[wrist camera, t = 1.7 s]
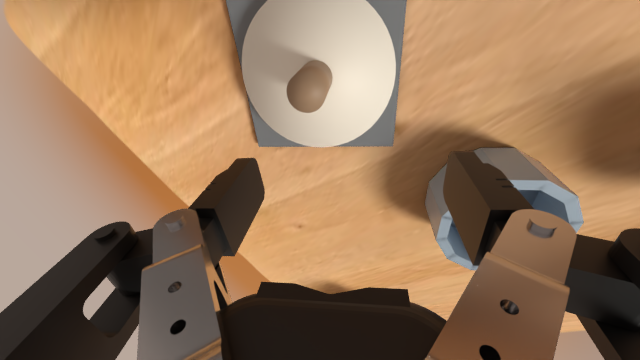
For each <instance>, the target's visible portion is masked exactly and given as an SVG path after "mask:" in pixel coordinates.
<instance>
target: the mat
mask: <svg viewBox="0 0 640 360" xmlns="http://www.w3.org/2000/svg"><path fill="white" fill-rule="evenodd" d="M266 1H267V0H226V3H227V7H228V12H229V16H230V21H231V25H232V30H233V34H234V38H235V43H236V47H237V52H238V56H239V61H240V65H241V69H242V49H243V44H244V39H245V36H246V33H247V30H248V28H249V25H250V23H251V21H252V19H253V18H254V16H255V15H256V13H257V12H258V10H259V9H260V8H261V7H262V6H263V5H264V4H265V2H266ZM366 1H367V2H368V3H369V4H370V5H371V6H372V7H373V8H374V9H375V10H376V12H377V13H378V14H379V16H380V17H381V18H382V20H383V22H384V24H385V25H386V27H387V29H388V32H389V34H390V37H391V39H392V43H393V47H394V51H395V60H396V75H395V82H394V87H393V91H392V94H391V97H390V100H389V102H388V104H387V106H386V108H385V110H384V112H383V113H382V115H381V116H380V117H379V119H378V120H377V121H376V123H375V124H374V125H373V126H372V127H371V128H370V129H368V130H367V131H366V132H365V133H363V134H362V135H361V136H359V137H357V138H356V139H354V140H352V141H349V142H347V143H344V144H341V145H337V146H393V141H394V131H395V120H396V109H397V98H398V88H399V77H400V66H401V55H402V44H403V34H404V23H405V12H406V1H407V0H366ZM246 92H247V91H246ZM247 96H248V93H247ZM248 101H249V105H250V109H251V114H252V118H253V123H254V127H255V132H256V136H257V140H258V145H259V147H311V146H305V145H302V144H298V143H295V142H293V141H291V140H288V139H287V138H285V137H283V136H281V135H280V134H278V133H277V132H276V131H274V130H273V129H272V128H271V127H270V126H269V125H268V124H267V123H266V122H265V121H264V120H263V119H262V118H261V117H260V115H259V114H258V112H257V111H256V110H255V108H254V106H253V104H252V102H251V101H250V98H249V96H248Z"/></svg>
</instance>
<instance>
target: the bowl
mask: <svg viewBox="0 0 640 360" xmlns="http://www.w3.org/2000/svg"><path fill="white" fill-rule="evenodd" d="M474 152H475V154H476V155H477V156H478V157H479V159H480V160H481V161H482V162H483V163H489V164H491V165H492V166H494V167H496V168H498V169H499V170H501V171H502V172H503V173H504V175H505V176H506V177H507V178H508V180H510V182H511V183H512V184H513V185H514V187H516V188H517V190H518V191H519V192H520V193H521V194H522V195H523V196H524V198H525V199H526V200H527V201H528V202H529V203H530V205H531V206H532V207H533V208H534V209H535V210H540V211H544V212H548V213H550V214H553V215H555V216H558V217H559V218H561V219H563V220H565V221H566V222H567V223H569V224H570V225H571V226H572V227H573V228H574V230H575V231H576V233H577V231H578V230H579V228H580V227H581V225H582V224H583V222H584V221H583V217H582V212H581V208H580V203H579V199H578V196H577V195H576V194H575V193H573V192H572V191H571V190H570V189H569V188H568V187H567V186H566V185H565V184H563V183H562V182H561V181H560V180H559V179H558V178H557V177H556V176H555V175H553V174H552V173H551V172H550V171H549V170H548V169H547V168H546V167H545V166H543V165H542V164H541V163H540V162H539V161H537V160H535V159H533V158H532V157H530V156H528V155H526V154H525V153H523V152H521V151H519V150H518V149H516V148H479V149H476V150H474ZM446 168H447V163H446V164H445V166H444V167H443V168H442V169H441V170H440V171H439V172H438V173H437V174H436V175H435V176H434V177H433V178H432V179H431V180H430V181H429V185H428V190H427V195H426V200H425V206H426V209H427V213H428V216H429V219H430V223H431V226H432V229H433V232H434V236H435V239H436V241H437V243H438V244H439V246H440V248H441V249H442V251H443V253H444V254H445V256H446V258H447V259H449V260H451V261H453V262H455V263H457V264H459V265H461V266H464V267H466V268H468V269H470V270H477V268H478V266H473V265H472V262H471V260H470V258H469V255H468V253H467V251H466V249H465V246H464V244H463V242H462V239H461V237H460V235H459V233H458V230H457V228H456V226H455V223H454V221H453V219H452V216H451V214H450V212H449V210H448V207H447V205H446V203H445V200H444V196H443V184H444V179H445V173H446Z"/></svg>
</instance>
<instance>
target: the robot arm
mask: <svg viewBox="0 0 640 360" xmlns="http://www.w3.org/2000/svg"><path fill="white" fill-rule="evenodd" d="M264 194H265V192H264V185H263V182H262V178H261V174H260V171H259V167H258V163H257V161H256V159H255V158H238V159H236V160H235V161H234V162H233V164H232V165H231V166H230V167H229V168H228V170H225V171H224V172H222V173H220V174H219V175H217V176H216V177H215V178H214V180H213V181H212V182H211V184H209V185H208V186H207V188H206V189H205V190H204V191H203V192H202V193H201V194H200V196H199V197H198V198H197V199H196V200H195V201H194V202H193V204H192V205H191V206H190V207H189V208H188V209H180V210H176V211H174V212H171V213H169V214H167V215H165V216H164V217H162V218H161V219H160V220H159V221H158V222H157V223H156V224H155V225H154V227H153V229H148V230H143V231H139V232H135V231H134V230H133V228H132V227H131V226H130V224H129V223H127V222H115V223H111V224H108V225H106V226H104V227H101V228H100V229H98V230H96V231H94V232H93V233H91V234H90V235H89V236H88V237H87V238H85V239H84V240H83V241H82V242H81V243H80V244H79V245H78V246H76V247H75V248H74V249H73V250H72V251H71V252H69V253H68V254H67V255H66V256H65V257H64V258H63V259H61V260H60V261H59V262H58V263H57V264H56V265H55V266H53V267H52V268H51V269H50V270H49V271H48V272H47V273H46V274H44V275H43V276H42V277H41V278H40V279H39V280H38V281H36V282H35V283H34V284H33V285H32V286H31V287H30V288H29V289H27V290H26V291H25V292H24V293H23V294H22V295H21V296H19V297H18V298H17V299H16V300H15V301H14V302H12V303H11V304H10V305H9V306H8V307H7V308H6V309H4V310H3V311H2V312H1V313H0V360H115V359H116V358H117V356H118V355H119V353H120V352H121V350H122V349H123V347H124V346H125V344H126V342H127V341H128V340H129V338H130V336H131V335H132V333H133V332H134V330H135V329H136V327H137V326H138V324H139V332H138V351H137V360H553V358H554V354H555V350H556V346H557V342H558V337H559V334H560V330H561V325H562V321H563V317H564V313H565V311H566V312H570V313H573V314H576V315H577V317H578V318H579V320H580V322H581V323H582V325H583V326H584V328H585V329H586V331H587V333H588V334H589V336H590V337H591V339H592V340H593V342H594V343H595V345H596V347H597V348H598V350H599V352H600V353H601V355H602V356H603V357H604V359H605V360H640V229H627V230H624V231H623V232H621V234H620V235H619V236H618V238H617V239H616V241H615V242H613V241H608V240H603V239H598V238H593V237H588V236H583V235H579V234H576V231H575V230H574V228H573V227H572V226H571V225H570V224H569V223H567V222H566V221H565V220H563V219H561V218H559V217H558V216H555V215H553V214H550V213H548V212H544V211H540V210H535V209H534V208H533V207H532V206H531V205H530V203H529V202H528V201H527V200H526V199H525V198H524V196H523V195H522V194H521V193H520V192H519V191H518V190H517V188H516V187H514V185H513V184H512V183H511V182H510V180H508V178H507V177H506V176H505V175H504V173H503V172H502V171H501V170H499V169H498V168H496V167H494V166H492V165H491V164H489V163H483V162H482V161H481V160H480V159H479V157H478V156H477V155H476V154H475V152H474V151H456V152H450V154H449V157H448V162H447V168H446V173H445V179H444V184H443V196H444V200H445V203H446V205H447V207H448V210H449V212H450V214H451V216H452V219H453V221H454V223H455V226H456V228H457V230H458V233H459V235H460V237H461V239H462V242H463V244H464V246H465V249H466V251H467V253H468V255H469V258H470V260H471V262H472V265H473V266H478V268H477V270H476V272H475V273H474V275H473V277H472V278H471V280H470V282H469V284H468V285H467V287H466V289H465V291H464V292H463V294H462V296H461V298H460V299H459V301H458V303H457V305H456V306H455V308H454V310H453V312H452V313H451V315H450V317H449V319H448V320H447V321H446V320H445V319H443V318H442V317H440V316H439V315H437V314H436V313H434V312H432V311H430V310H428V309H427V308H424V307H422V306H420V305H417V304H414V303H411V302H410V301H409V295H408V289H389V288H363V289H358V290H352V291H347V292H342V293H336V294H326V293H323V292H320V291H317V290H314V289H310V288H307V287H304V286H301V285H298V284H293V283H274V282H261V285H260V287H259V290H258V293H257V294H253V295H250V296H246V297H244V298H241V299H239V300H237V301H235V302H233V303H232V300H231V296H230V293H229V290H228V286H227V283H226V279H225V276H224V273H223V270H222V266H221V264H220V262H219V261H220V259H221V257H222V256H235V254H236V252H237V250H238V248H239V247H240V245H241V243H242V241H243V239H244V237H245V235H246V233H247V231H248V229H249V227H250V225H251V223H252V221H253V219H254V218H255V216H256V214H257V212H258V210H259V208H260V206H261V204H262V202H263V200H264ZM106 277H107V278H108V279H109V281H110V282H111V283H112V284H113V285H114V286H115V287H116V288H115V290H114V291H113V292H112V293H111V294H110V295H109V297H108V298H107V299H106V300H105V302H104V303H103V304H102V305H101V307H100V308H99V309H98V310H97V311H96V312H95V314H94V315H93V316H92V317H91V319H90V320H88V319H87V318H86V317H85V316H84V314H83V305H84V303H85V300H86V299H87V298H88V297H89V296H90V294H91V293H92V292H93V291H94V290H95V289H96V288H97V286H98V285H99V284H100V283H101V282H102V281H103V280H104V279H105V278H106Z"/></svg>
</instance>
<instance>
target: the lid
mask: <svg viewBox="0 0 640 360" xmlns="http://www.w3.org/2000/svg"><path fill="white" fill-rule="evenodd" d="M242 74H243V80H244V84H245V87H246V91H247V93H248V96H249V98H250V101H251V102H252V104H253V106H254V108H255V110H256V111H257V112H258V114H259V115H260V117H261V118H262V119H263V120H264V121H265V122H266V123H267V124H268V125H269V126H270V127H271V128H272V129H273V130H274V131H276V132H277V133H278V134H280V135H281V136H283V137H285V138H287V139H288V140H291V141H293V142H295V143H298V144H302V145H305V146H311V147H332V146H337V145H341V144H344V143H347V142H349V141H352V140H354V139H356V138H357V137H359V136H361V135H362V134H363V133H365V132H366V131H367V130H368V129H370V128H371V127H372V126H373V125H374V124H375V123H376V121H377V120H378V119H379V117H380V116H381V115H382V113H383V112H384V110H385V108H386V106H387V104H388V102H389V100H390V97H391V94H392V91H393V87H394V82H395V75H396V60H395V51H394V47H393V43H392V39H391V37H390V34H389V32H388V29H387V27H386V25H385V24H384V22H383V20H382V18H381V17H380V16H379V14H378V13H377V12H376V10H375V9H374V8H373V7H372V6H371V5H370V4H369V3H368V2H367V1H366V0H267V1H266V2H265V4H264V5H263V6H262V7H261V8H260V9H259V10H258V12H257V13H256V15H255V16H254V18H253V19H252V21H251V23H250V25H249V28H248V30H247V33H246V36H245V39H244V44H243V49H242Z"/></svg>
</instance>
